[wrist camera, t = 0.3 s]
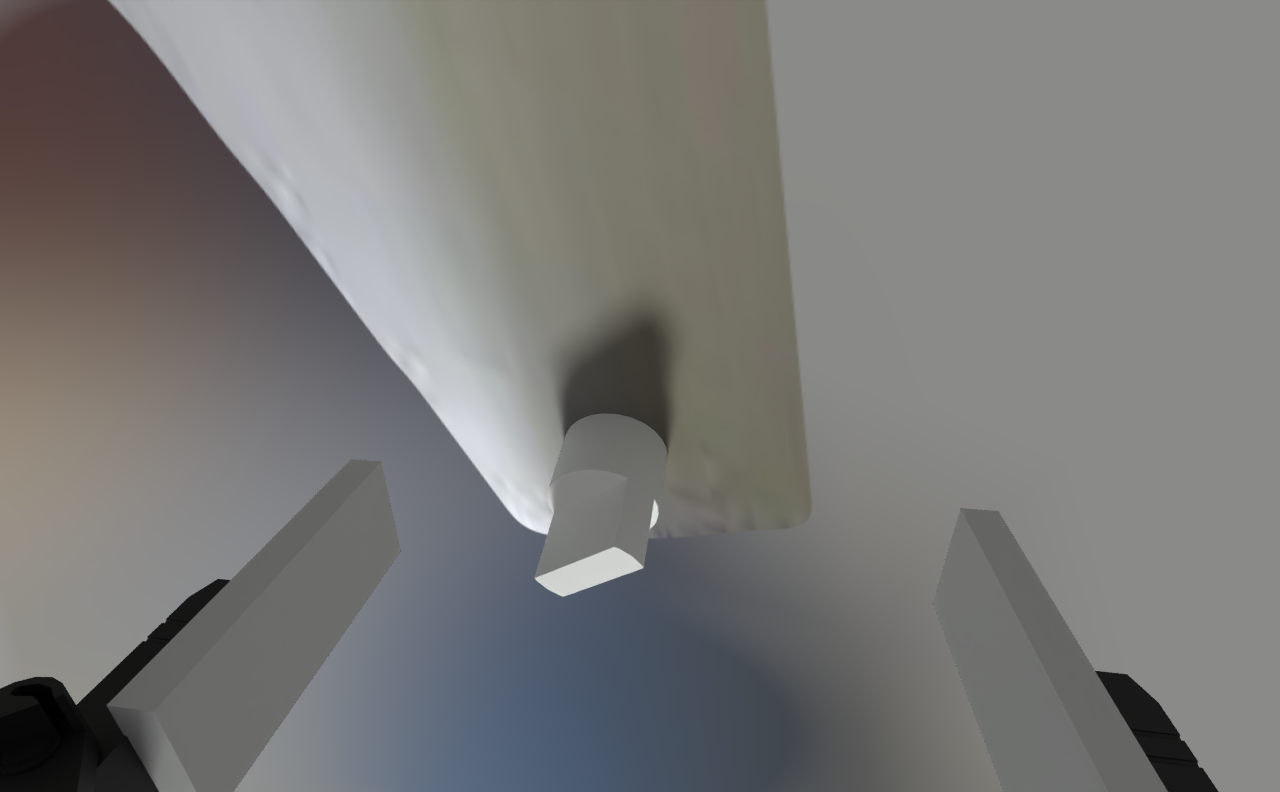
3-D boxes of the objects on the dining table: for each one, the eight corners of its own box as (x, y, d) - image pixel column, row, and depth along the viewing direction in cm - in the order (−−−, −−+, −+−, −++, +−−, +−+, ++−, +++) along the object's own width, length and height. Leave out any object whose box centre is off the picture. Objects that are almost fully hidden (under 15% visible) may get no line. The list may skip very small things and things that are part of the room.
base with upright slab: (613, 494, 59) (587, 614, 50) (543, 439, 55) (502, 559, 46) (688, 460, 54) (674, 586, 45) (617, 397, 50) (586, 522, 41)
